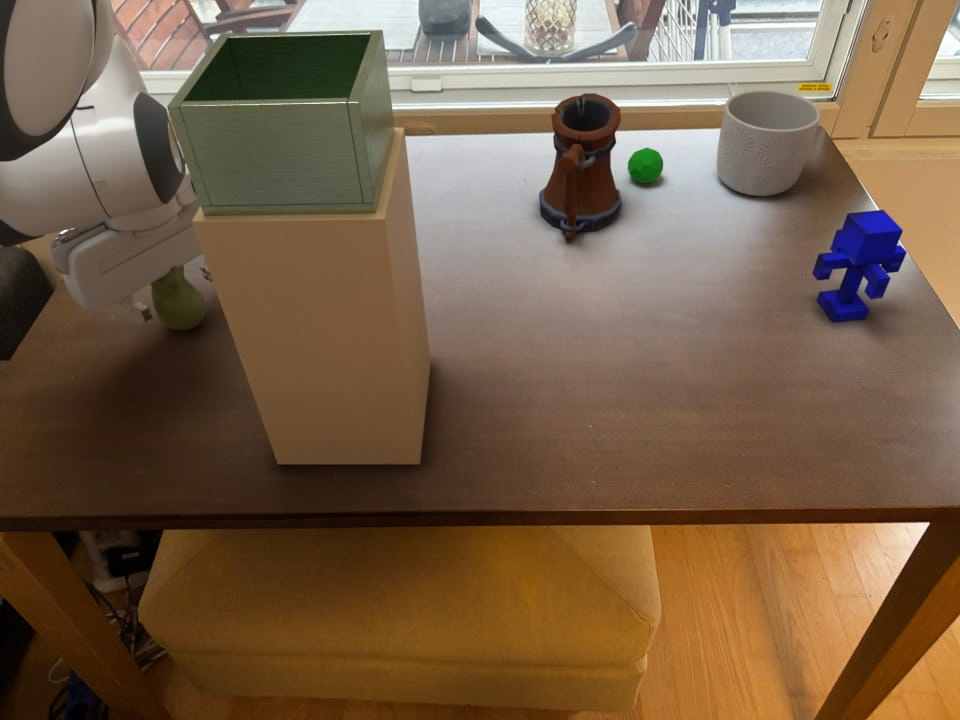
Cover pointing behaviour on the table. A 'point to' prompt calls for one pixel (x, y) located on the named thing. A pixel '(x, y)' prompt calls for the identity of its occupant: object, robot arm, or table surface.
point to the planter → (765, 140)
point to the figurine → (859, 263)
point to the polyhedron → (645, 165)
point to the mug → (582, 165)
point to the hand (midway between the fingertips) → (179, 298)
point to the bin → (312, 239)
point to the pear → (177, 301)
